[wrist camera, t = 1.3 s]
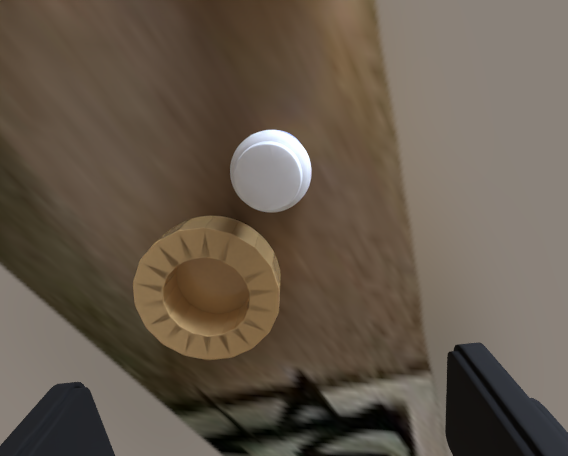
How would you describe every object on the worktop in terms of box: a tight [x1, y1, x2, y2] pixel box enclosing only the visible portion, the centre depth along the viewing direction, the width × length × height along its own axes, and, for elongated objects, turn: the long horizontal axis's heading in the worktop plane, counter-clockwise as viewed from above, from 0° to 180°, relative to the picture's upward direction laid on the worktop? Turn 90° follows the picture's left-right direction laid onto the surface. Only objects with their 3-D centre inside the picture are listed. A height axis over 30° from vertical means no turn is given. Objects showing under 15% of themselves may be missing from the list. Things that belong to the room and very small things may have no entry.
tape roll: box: [133, 216, 281, 360], centre depth 30 cm, size 12×12×4 cm
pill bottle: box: [230, 130, 311, 212], centre depth 24 cm, size 5×5×10 cm
